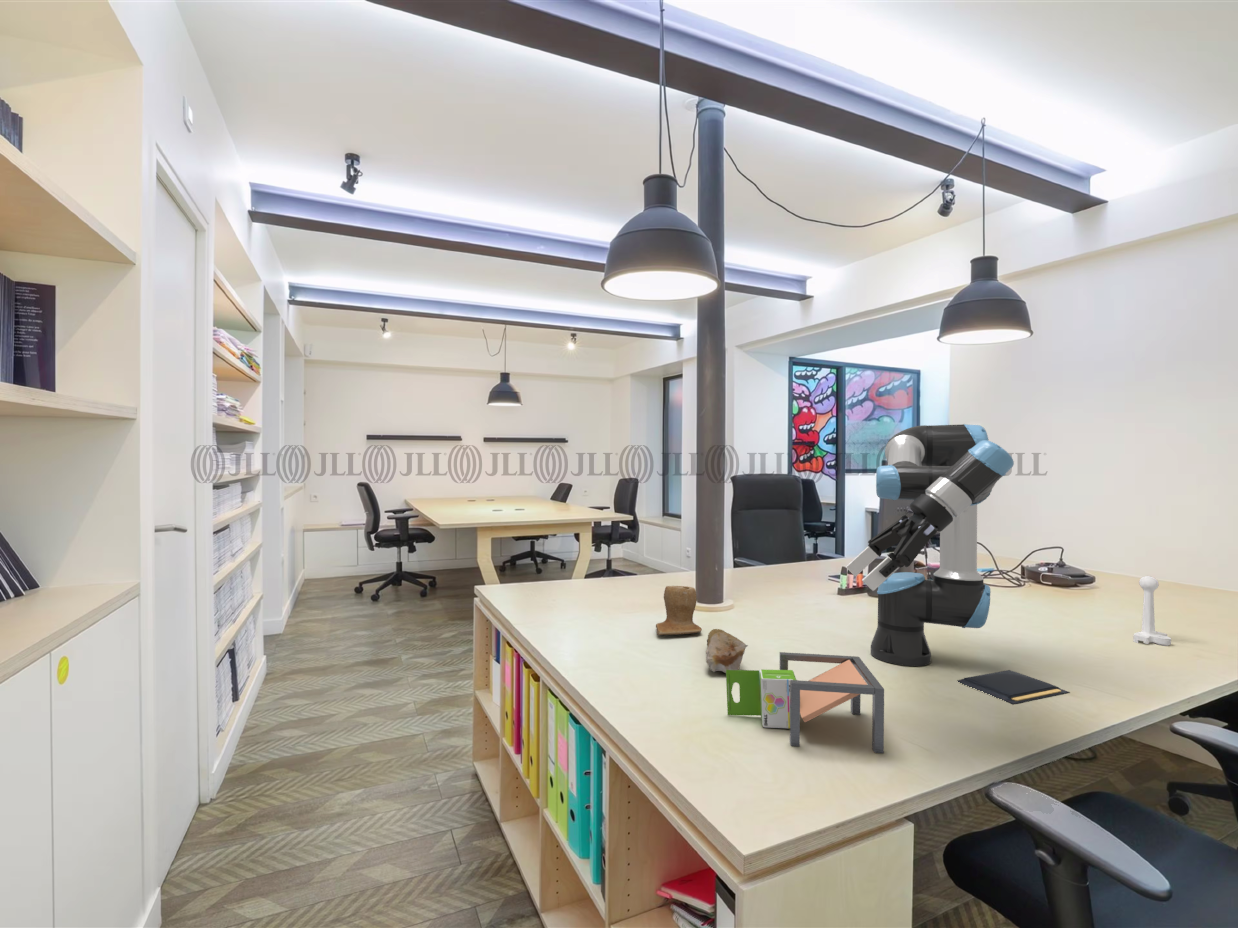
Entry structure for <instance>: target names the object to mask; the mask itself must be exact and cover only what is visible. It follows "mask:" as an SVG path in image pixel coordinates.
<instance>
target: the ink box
mask: <svg viewBox="0 0 1238 928" xmlns="http://www.w3.org/2000/svg"><path fill="white" fill-rule="evenodd" d="M725 678H726V679H725V681H726V682H725V684H726V687H725V688H726V705H727V709H726V710H727V716H759V717H760V719H761V724H762V725H761V726H762V727H763V728H769V729H771V728H772V729H790V680H797V678H796V675H795V672H794V671H793V669H788V670H779V669H759V670H756V669H754V670H753V669H752V670H751V669H750V670H749V669H747V670H746V669H739V670H726V673H725ZM735 683H737V684H738V685H739V688H738V689H739V701H737V702H736V701H735V700H734V697H733V693H732V691H733V687H734V684H735Z"/></svg>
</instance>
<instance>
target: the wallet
mask: <svg viewBox="0 0 1238 928" xmlns="http://www.w3.org/2000/svg"><path fill="white" fill-rule="evenodd" d="M957 681H958V682H960V683H962V684H961V685H963V684H964V685H963V686H965V685H967V686H966V687H968V686H969V687H968V688H970V687H972V688H971V689H973V688H975V689H977V690H976V691H978V690H980V691H983V692H984V693H983V692H982V693H983V694H985V693H987V694H986V695H988V694H990V695H992V696H991V697H993V696H994V697H993V698H995V697H996V699H998V698H999V699H998V700H1000V699H1002V700H1001V701H1003V700H1004V701H1003V702H1005V701H1006V703H1008V704H1010V705H1020V704H1024V703H1027V702H1029V703H1030V702H1031V701H1032V702H1034V701H1037V700H1041V699H1047V698H1052V697H1057V696H1061V695H1066V694H1071V692H1070V691H1067V690H1065V689H1062V688H1061V687H1059V686H1057V685H1054V684H1051V683H1048V682H1046V681H1043V680H1041V679H1037V678H1035V677H1031V676H1030V675H1029V676H1028V675H1026V674H1023V673H1020V672H1017V671H1013V670H1011V669H1008V670H1006V669H1005V670H1001V671H995V672H991V673H984V674H980V675H973V676H969V677H968V676H967V677H963V678H961V679H957V680H956V682H957ZM958 682H957V683H958ZM960 683H959V684H960ZM975 689H974V690H975ZM980 691H979V692H980ZM990 695H989V696H990Z"/></svg>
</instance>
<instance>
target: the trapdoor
mask: <svg viewBox="0 0 1238 928" xmlns="http://www.w3.org/2000/svg"><path fill="white" fill-rule="evenodd" d="M808 681H815V682H831V683H847V684H862V685H868V684H867V683H866V682H865V680H864V679H863V678H862V676H861V675H860V674H859V672H858V671H857V670H856V668H855V667H854V665H853V664H852V663H851V661H850V660H847V661H845V662H843V663H841V664H840V663H838V665H836V666H833V667H832V668H830V669H828V670H826V671H825V672H823V673H821V674H818V675H817V676H815V677H813V678H810V679H809V680H808ZM858 695H860V696H861V694H854V693H839V692H824V691H809V690H800V718H801V719H802V720H803V722H804V723H807V722H809V721H811V720H813V719H814V718H817V717H819V716H821V715H823V714H825V713H827V712H828V711H830V710H832V709H834V708H836V707H838V706H840V705H842V704H845V703H846V702H848V701H851V699H852V698H854V697H856V696H858Z"/></svg>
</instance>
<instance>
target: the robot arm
mask: <svg viewBox="0 0 1238 928" xmlns="http://www.w3.org/2000/svg"><path fill="white" fill-rule="evenodd" d="M885 445H886V446H885V450H884V454H885V455H884V456H885V459H886V461H887V465H880V466H878V467H877V468H876V472H875V473H876V474H875V475H876V476H875V481H876V483H875V490H876V496H877V497H878V498H879V499H885V500H886V499H887V500H893V501H896V500H899V501H903V500H904V501H912V502H911V503H909V509H910V510H911V511H912V513H913V514H912V515H911V516H909V517H908V516H907V515H906V514H903V515H901V517H900V518H899V519H897V520H896V521H895V522H893V523H892V524H891V525H890V526H888V527H886V528H885V529H883V530H882V531H880V532H879V533H878V534H877V535H875V536H873V537H872V538H871V539H869V540H868V542H867V543H868V545H867V546H866V548H865V549H863V550H862V551H861V552H860V553H859V554H857V556H855V557H854V558H853V559H852V560H851V561H850V562H849V563H848V564H847V565H846V566H845V568H846V569H847V570H848V571H849V572H850V573H851V574H852V575H853V577H855V578H856V577H858V576H859V574H860V573H861V572H863V570H865V569H866V568H867V567H868V566H869V565H870V564H871V563H872V562H873V561H875V560H876V559H877V558H878V557H881V556H882V552H884V551H885V550H887V549H889V548H892V547H893V546H895V545H896V544H897V545H896V547H895V549H894V551H893V552H888V553H887V556H886V557H885V559H883V560H882V561H881V562H879V564H878V565H877V566H875V567H874V568H873V569H872V570H871V571H870V572H869V573H868V574H866V575H865V577H863V578H862V579H861V581H862V582H863V583H864V584H865V585H866V586H867V587H868V588H869V589H870V590H871V591H872V592H874V591H875V590H877V591H876V594H877V595H878V596H877V627H876V630H875V633H874V635H873V638H872V641H871V644H870V655H871V656H872V657H874V658H875V659H877V660H879V661H882V662H885V663H887V664H892V665H899V666H906V667H907V666H908V667H923V666H926V665H929V664H931V663H932V653H931V650H930V646H929V643H928V640H927V637H926V635H925V624H935V625H943V626H950V627H961V628H962V629H966V628H967V629H981V628H982V627H983V626H985V624H986V622H987V620H988V616H989V612H990V606H991V592H992V591H991V586H990V585H988V584H986V583H984V577H983V576H982V575H981V574H980V573H979V572H978V505H979V504H981V503H983V502H984V501H985V500H987V498H989V496H990V495H991V493H992V491H993V488H994V487H995V485H996V483H997V482H998V481H999V480H1000V479H1002V478H1003V477H1005V476H1006V475H1007V473H1008V472H1009V471H1010V470H1011V469H1012V468H1013V467H1014V465H1015V461H1014V459H1013V457H1012V455H1011V454H1010V453H1009V452H1008V451H1007V450H1006V449H1004V448H1003V447H1002V446H1001V445H999V444H997V443H995V442H993V441H990V440H989V436H988V432H987V430H986V429H985V428H984V427H983V426H982V425H979V424H965V423H963V424H941V425H939V424H937V425H935V424H934V425H926V424H925V425H916V426H912V427H908V428H906V429H903V430H901V431H900V432H897V433H896V434H894V435H893V436H892V437H891V438H889V440H887V443H886V444H885ZM938 532H939V535H940V536H939V568H938V569H937V570H935V571H934V572H933V574H932V575H933V579H926V577H925V575H924V574H923V573H920V572H912V571H911V572H910V571H909V572H908V571H904V572H903V571H901V572H897V570H899V569H900V568H903V567H905V568H908V567H909V566H910V565H912V563H913V562H914V560H915V559H916V558H917V557H918V555H919V554H920V553H921V551H922V550H923V548H925V546H926V545H927V544H928V542H929V541H930V540H931V539H932V538H933V536H934V535H936V534H937V533H938Z"/></svg>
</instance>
